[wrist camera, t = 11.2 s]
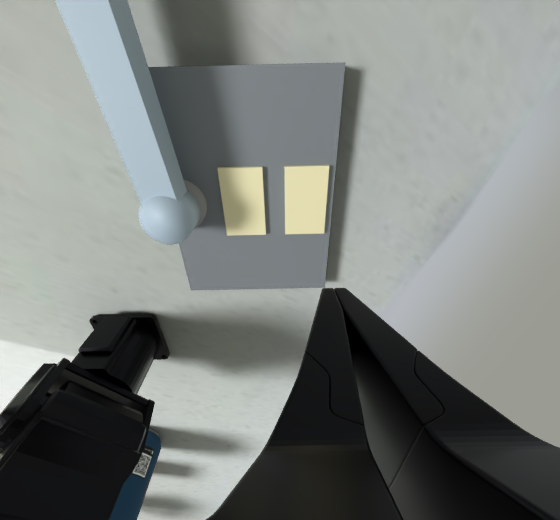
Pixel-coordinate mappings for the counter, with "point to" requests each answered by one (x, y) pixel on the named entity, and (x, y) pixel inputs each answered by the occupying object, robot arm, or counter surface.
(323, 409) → the robot arm
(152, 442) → the soda can
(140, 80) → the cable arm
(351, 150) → the counter surface
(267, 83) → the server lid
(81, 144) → the counter surface
